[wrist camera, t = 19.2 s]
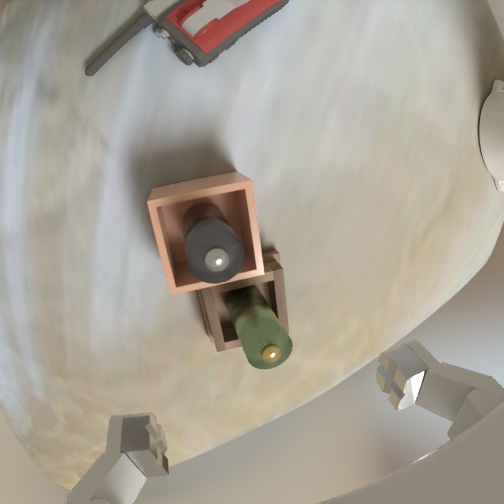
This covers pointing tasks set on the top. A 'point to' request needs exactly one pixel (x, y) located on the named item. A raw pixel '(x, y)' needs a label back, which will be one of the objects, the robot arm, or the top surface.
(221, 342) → the cell holder
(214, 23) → the walkie-talkie
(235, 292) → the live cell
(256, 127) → the top surface
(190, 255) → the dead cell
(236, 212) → the cup
